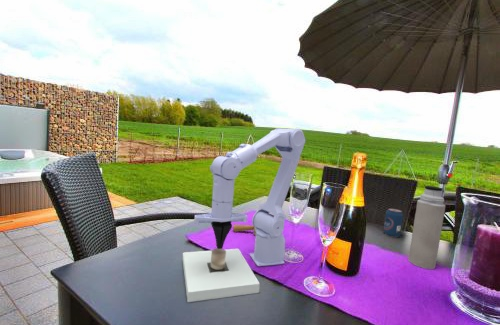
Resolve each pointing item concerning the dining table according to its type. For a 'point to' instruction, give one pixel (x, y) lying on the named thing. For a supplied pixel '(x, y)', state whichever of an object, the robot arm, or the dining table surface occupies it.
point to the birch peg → (218, 260)
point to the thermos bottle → (427, 228)
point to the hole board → (217, 276)
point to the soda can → (393, 222)
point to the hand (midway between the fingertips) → (219, 247)
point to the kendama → (244, 228)
